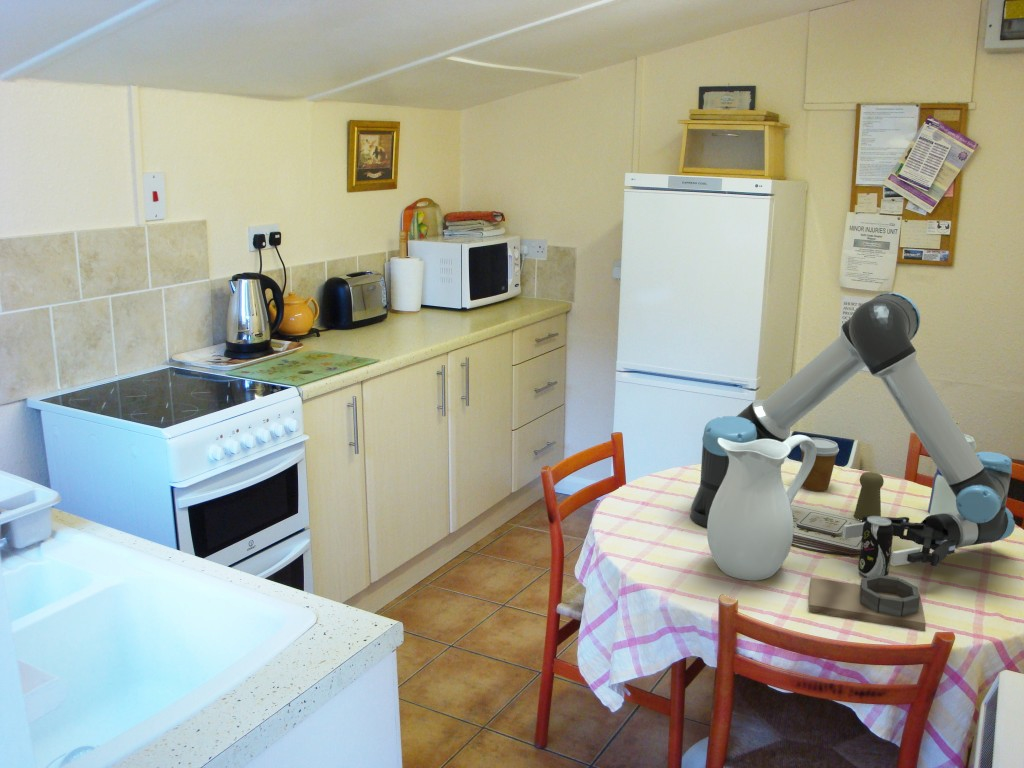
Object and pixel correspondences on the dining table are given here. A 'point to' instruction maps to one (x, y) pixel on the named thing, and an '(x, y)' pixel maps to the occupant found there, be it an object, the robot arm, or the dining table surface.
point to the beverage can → (876, 546)
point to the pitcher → (755, 507)
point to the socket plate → (851, 606)
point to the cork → (869, 495)
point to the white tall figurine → (944, 490)
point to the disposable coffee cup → (821, 464)
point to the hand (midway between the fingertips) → (867, 545)
